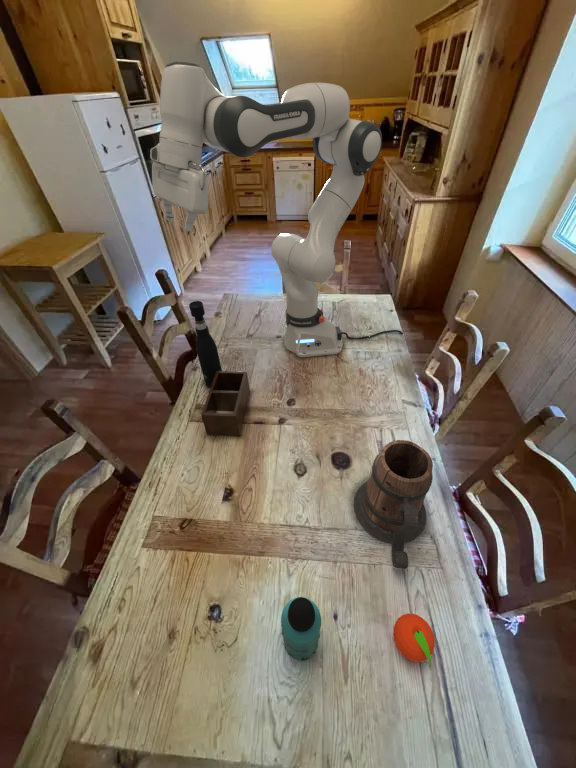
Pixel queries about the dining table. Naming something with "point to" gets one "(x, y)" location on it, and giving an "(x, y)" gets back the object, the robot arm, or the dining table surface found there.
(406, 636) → the clementine
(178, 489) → the dining table surface
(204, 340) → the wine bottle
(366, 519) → the tankard
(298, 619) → the beverage bottle
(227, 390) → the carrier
